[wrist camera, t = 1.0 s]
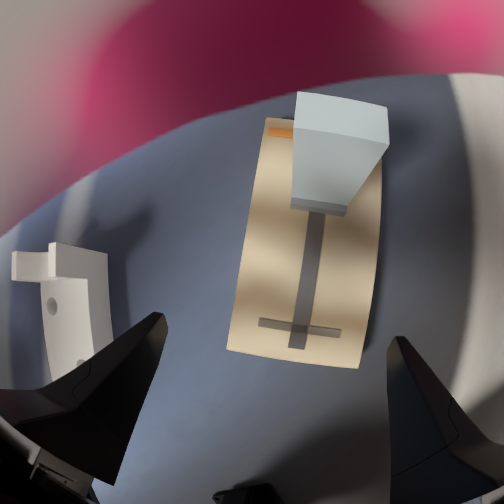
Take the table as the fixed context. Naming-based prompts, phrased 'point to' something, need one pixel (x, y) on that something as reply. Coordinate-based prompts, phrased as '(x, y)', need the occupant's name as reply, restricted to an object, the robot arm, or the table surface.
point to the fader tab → (334, 150)
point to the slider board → (304, 267)
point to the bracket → (69, 302)
